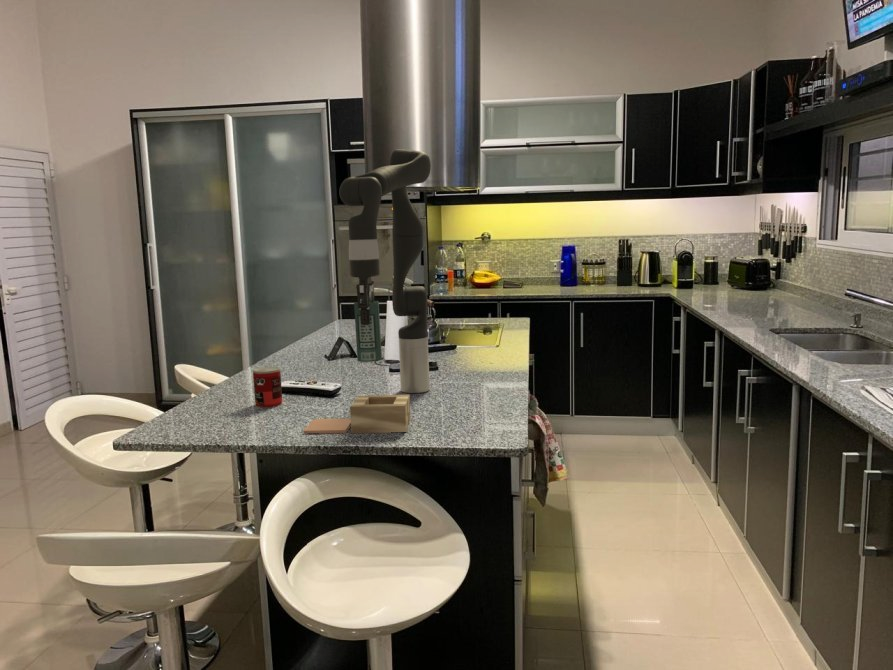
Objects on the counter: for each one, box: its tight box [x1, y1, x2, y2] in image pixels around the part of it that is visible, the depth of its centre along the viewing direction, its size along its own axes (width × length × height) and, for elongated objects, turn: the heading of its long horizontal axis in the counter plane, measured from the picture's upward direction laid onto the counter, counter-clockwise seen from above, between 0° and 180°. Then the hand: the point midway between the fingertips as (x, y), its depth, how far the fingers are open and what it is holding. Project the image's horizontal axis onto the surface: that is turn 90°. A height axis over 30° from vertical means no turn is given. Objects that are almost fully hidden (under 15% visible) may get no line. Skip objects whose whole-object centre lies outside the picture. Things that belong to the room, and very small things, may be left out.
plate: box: [303, 418, 351, 434], centre depth 187 cm, size 11×11×1 cm
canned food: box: [252, 366, 283, 408], centre depth 213 cm, size 8×8×11 cm
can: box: [353, 300, 383, 363], centre depth 182 cm, size 6×6×15 cm
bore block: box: [349, 394, 412, 434], centre depth 185 cm, size 12×14×7 cm
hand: (367, 322), depth 182 cm, fingers closed on can, 6 cm apart
